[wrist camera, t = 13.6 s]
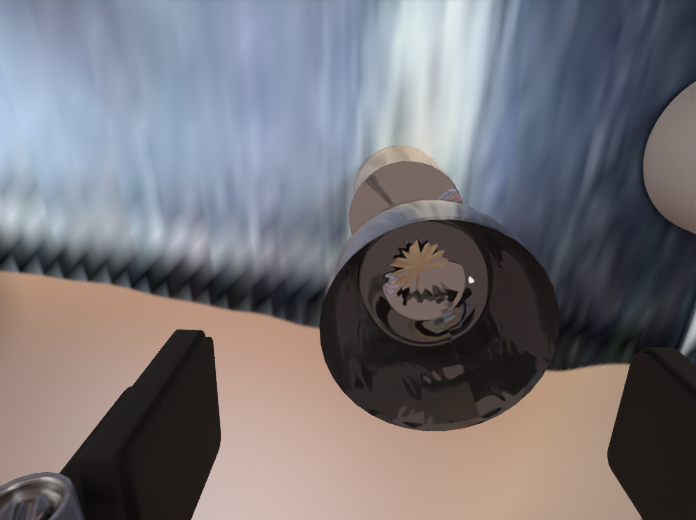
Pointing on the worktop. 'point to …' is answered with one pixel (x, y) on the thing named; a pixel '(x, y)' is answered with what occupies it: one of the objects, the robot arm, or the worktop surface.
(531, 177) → the worktop surface
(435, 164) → the wooden mug
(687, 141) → the taupe cylinder
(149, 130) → the worktop surface
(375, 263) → the wine glass
